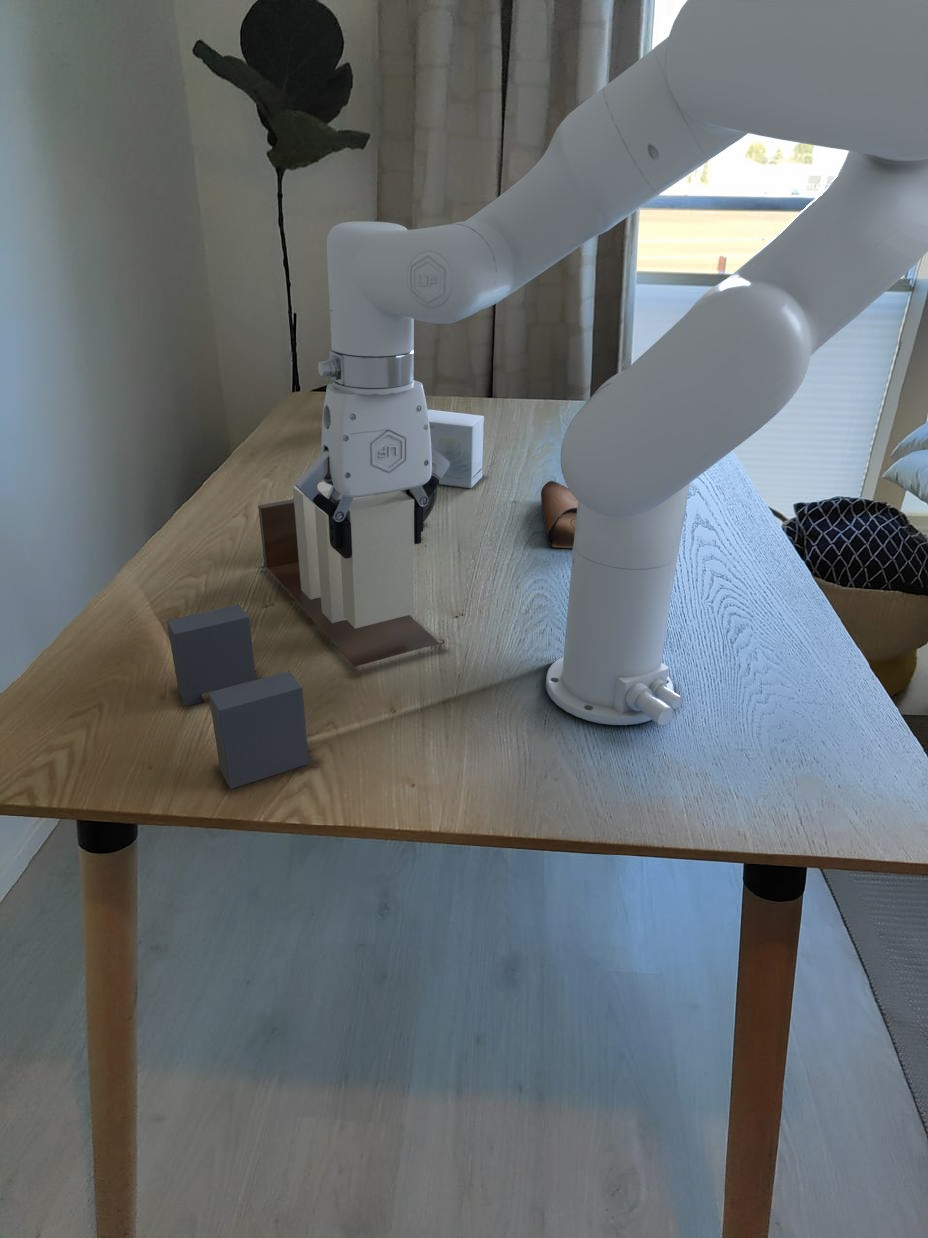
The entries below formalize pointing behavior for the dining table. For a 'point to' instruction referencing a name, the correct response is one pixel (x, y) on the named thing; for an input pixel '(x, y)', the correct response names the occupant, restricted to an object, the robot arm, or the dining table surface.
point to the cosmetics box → (458, 445)
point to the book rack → (285, 567)
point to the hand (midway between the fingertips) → (377, 545)
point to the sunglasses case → (559, 514)
